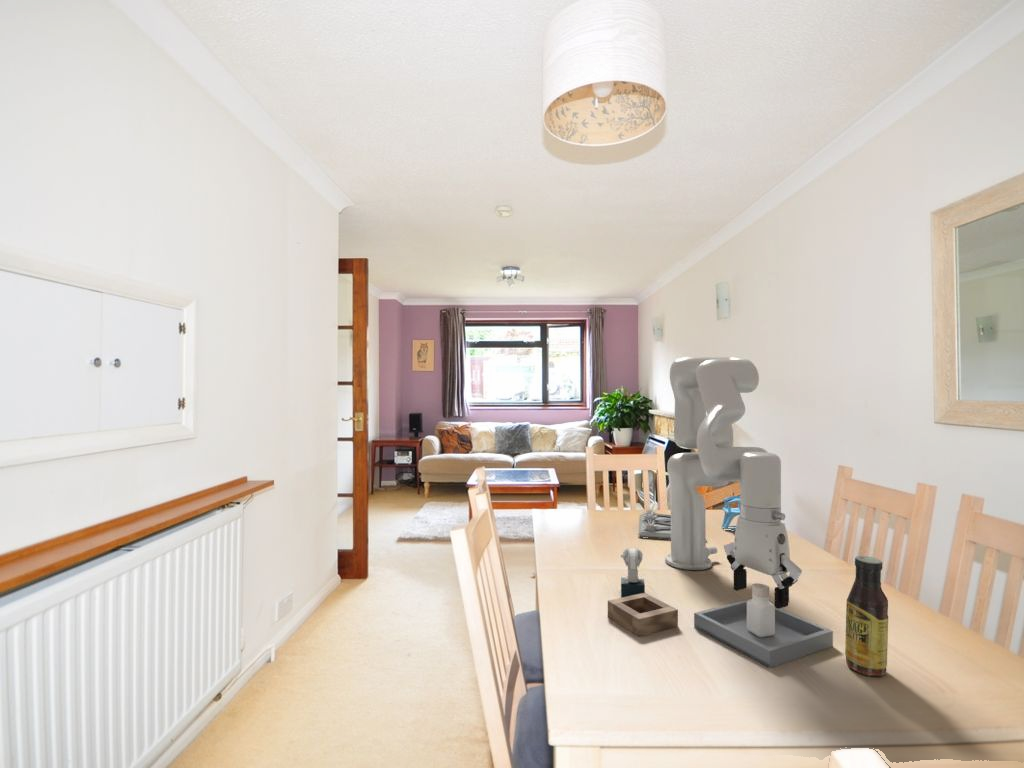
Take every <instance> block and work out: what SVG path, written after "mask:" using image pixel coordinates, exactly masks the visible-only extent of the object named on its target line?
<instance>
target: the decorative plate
mask: <svg viewBox="0 0 1024 768" xmlns="http://www.w3.org/2000/svg"><path fill="white" fill-rule="evenodd" d="M644 511H645V512H644ZM644 511H643V512H642V513H641V514H639V519H638V536H639V537H640V538H641V537H648V538H647V539H651V538H661V539H660V540H665V539H671V514H663V513H657V512H656V511H655V510H654V509H653V508H650V507H649V508H646V509H645V510H644Z"/></svg>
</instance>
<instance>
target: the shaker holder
mask: <svg viewBox="0 0 1024 768" xmlns="http://www.w3.org/2000/svg"><path fill="white" fill-rule="evenodd" d="M607 618H609V619H610V620H612V621H614V623H615V622H616V623H617V624H619V626H622V627H623V628H624V629H626V630H628V631H629V632H631V633H633V634H634V635H636V636H638V637H642V636H643V637H644V636H647V635H651V634H654V633H657V632H662V631H666V630H669V629H670V630H671V629H672V628H673V629H674V628H676V627H678V626H679V622H678V621H679V609H677V608H676V607H673V606H671V604H670V605H669V604H668V603H666V602H664V601H662V600H660V599H658V598H657V597H654V596H652V595H650V594H649V593H646V592H645V593H641V594H636V595H631V596H627V597H618V598H614V599H610V600H607ZM646 634H647V635H646Z"/></svg>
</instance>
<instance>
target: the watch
mask: <svg viewBox="0 0 1024 768" xmlns="http://www.w3.org/2000/svg"><path fill="white" fill-rule="evenodd" d="M643 555H644V554H643V552H642V551H641V550H640V549H639V548H636V547H627V548H625V549H624V550H623V551H622V553H621V555H620V558H622V559H623V562H624V563H625V566H626V567H627V577H620V580H621V581H620V598H622V597H627V596H631V595H636V594H641V593H646V592H645V590H646V588H645V587H646V586H645V579H644V578H639V570H638V568H639V567H640V565H641V563H642V561H643Z"/></svg>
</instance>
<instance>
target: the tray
mask: <svg viewBox="0 0 1024 768" xmlns="http://www.w3.org/2000/svg"><path fill="white" fill-rule="evenodd" d="M750 599H751V598H749V599H745V600H740V601H737V602H733V603H732V602H731V603H729V604H723V605H720V606H717V607H713V608H712V607H711V608H708V609H704V610H699V611H697V612H696V611H695V612H694V613H693V617H694V619H693V628H695V629H696V630H698V631H701V632H702V633H704V634H706V635H708V636H710V637H712V638H713V639H714V640H715V639H716V640H717V641H718V642H721V643H723V644H725V645H727V646H728V647H730V648H731V649H733V650H736V651H737V652H738V653H742V654H743V655H745V656H747V657H748V658H751V659H753V660H754V661H756V662H758V663H760V664H762V665H764V666H765V667H767V668H769V669H771V668H774V667H776V666H779V665H783V664H785V663H789V662H791V661H794V660H797V659H800V658H803V657H806V656H809V655H813V654H814V653H818V652H821V651H823V650H824V651H825V650H826V649H830V648H832V647H834V639H833V638H834V635H833V634H834V631H833V630H831V629H829V628H826V627H824V626H822V625H820V624H817V623H815V622H812V621H810V620H808V619H806V618H802V617H800V616H798V615H796V614H794V613H790V612H789V611H786V610H784V609H782V608H780V609H778V608H776V607H775V634H774V635H773V636H767V637H758V636H756V635H755V634H753V633H751V632H750V631H748V630H747V601H748V600H750Z"/></svg>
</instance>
